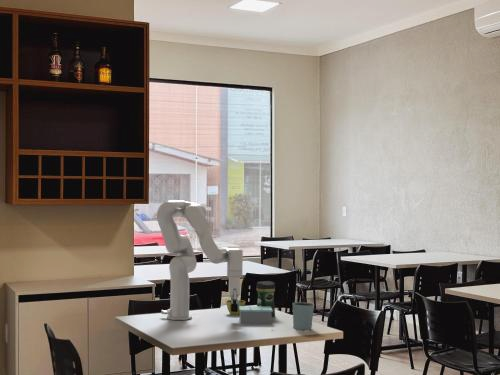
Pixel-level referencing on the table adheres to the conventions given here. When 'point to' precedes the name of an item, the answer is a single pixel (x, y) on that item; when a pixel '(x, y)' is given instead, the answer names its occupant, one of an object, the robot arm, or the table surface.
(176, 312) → the robot arm
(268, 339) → the table surface
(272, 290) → the coffee jar
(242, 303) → the flower pot
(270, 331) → the table surface
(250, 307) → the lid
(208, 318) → the table surface
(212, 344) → the table surface
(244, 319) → the tub
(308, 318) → the grey-blue tapered cup
